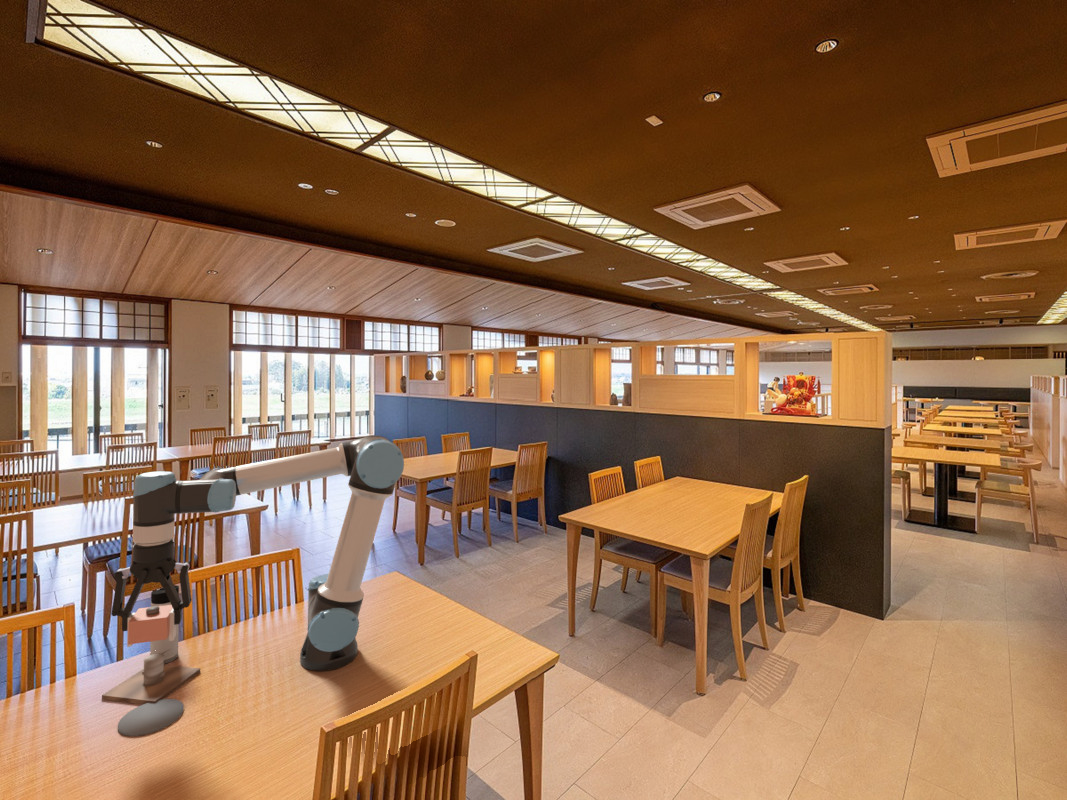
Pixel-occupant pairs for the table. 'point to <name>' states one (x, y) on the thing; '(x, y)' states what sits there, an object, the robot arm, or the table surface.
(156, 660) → the brown wooden stand
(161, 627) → the pink block with knob
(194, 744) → the table surface
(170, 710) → the mat
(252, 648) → the table surface
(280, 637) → the table surface
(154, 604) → the travel mug
